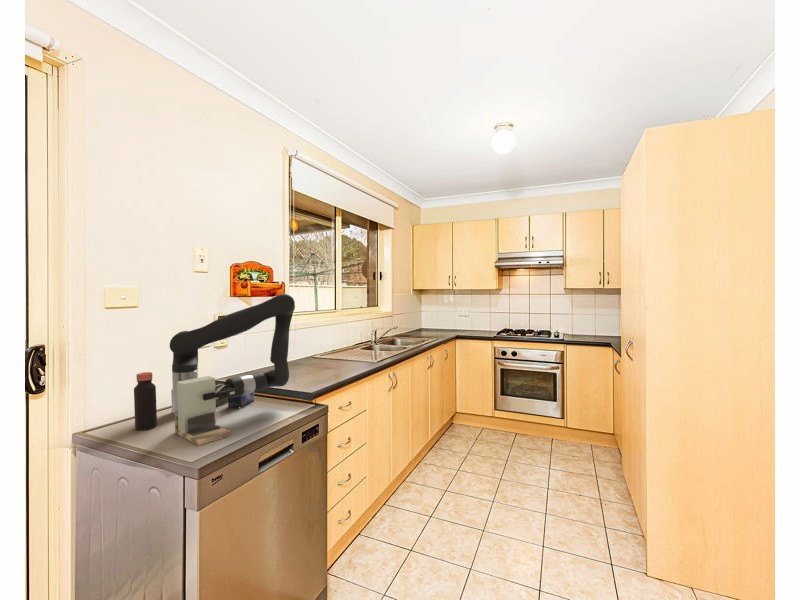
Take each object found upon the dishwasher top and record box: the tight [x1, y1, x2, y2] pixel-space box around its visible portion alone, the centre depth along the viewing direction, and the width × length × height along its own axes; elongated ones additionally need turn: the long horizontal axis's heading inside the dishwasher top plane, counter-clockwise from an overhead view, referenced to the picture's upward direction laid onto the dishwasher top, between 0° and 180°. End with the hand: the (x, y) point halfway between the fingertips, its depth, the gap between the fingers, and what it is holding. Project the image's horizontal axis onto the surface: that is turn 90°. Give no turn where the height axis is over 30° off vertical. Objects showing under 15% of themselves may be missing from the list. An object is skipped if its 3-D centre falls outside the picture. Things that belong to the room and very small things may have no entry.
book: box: [177, 375, 217, 433], centre depth 141 cm, size 5×11×17 cm, turn 142°
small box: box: [227, 392, 255, 408], centre depth 173 cm, size 11×6×10 cm, turn 168°
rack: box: [174, 412, 232, 446], centre depth 139 cm, size 18×11×6 cm, turn 51°
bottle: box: [133, 371, 158, 431], centre depth 145 cm, size 7×7×20 cm
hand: (197, 395), depth 142 cm, fingers open, 8 cm apart
